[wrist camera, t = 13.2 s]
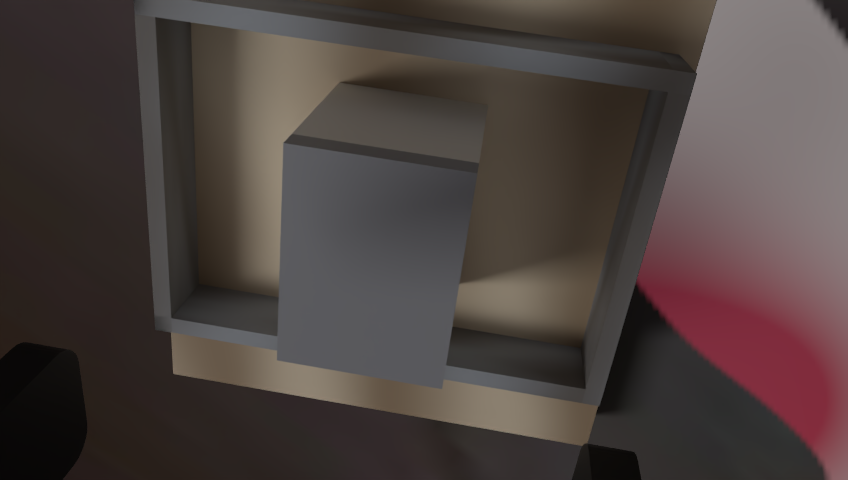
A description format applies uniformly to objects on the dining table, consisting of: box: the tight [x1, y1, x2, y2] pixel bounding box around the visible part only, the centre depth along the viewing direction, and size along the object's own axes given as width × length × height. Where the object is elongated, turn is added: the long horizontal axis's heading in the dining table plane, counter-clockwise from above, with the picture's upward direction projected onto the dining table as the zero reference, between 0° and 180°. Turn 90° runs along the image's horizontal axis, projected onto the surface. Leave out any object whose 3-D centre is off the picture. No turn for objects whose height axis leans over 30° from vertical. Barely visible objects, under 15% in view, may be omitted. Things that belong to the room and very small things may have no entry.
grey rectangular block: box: [277, 83, 488, 389], centre depth 18 cm, size 4×6×5 cm
